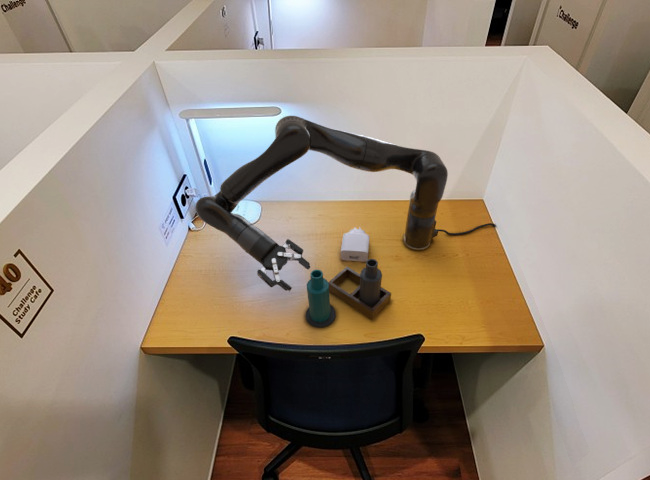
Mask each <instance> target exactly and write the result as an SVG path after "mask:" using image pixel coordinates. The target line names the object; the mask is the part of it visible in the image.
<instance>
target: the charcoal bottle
mask: <svg viewBox="0 0 650 480" xmlns="http://www.w3.org/2000/svg"><path fill="white" fill-rule="evenodd" d="M378 266H379V261H377V259H375V258H368V260H367V261H365V267H364V268H362V269H361V270H360V273H359V274H360V285H359V286H360V295H359V298H358V299H359V300H360V301H362V302H363V303H365V304H366V305H368V306H369V307H371V308H373V307H374V306H375V305H376V304H377V303H378V302H379V301H380V300H381V298H380V290H381V287H382V281H383V280H382V279H383V273H382V271H381V270H380V268H379V267H378Z"/></svg>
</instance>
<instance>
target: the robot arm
mask: <svg viewBox="0 0 650 480" xmlns="http://www.w3.org/2000/svg"><path fill="white" fill-rule="evenodd" d="M274 136H275V139H274V140H273V141H272V143H271V144H270V145H269V146H268V147H267V148H266V149H265V151H264V152H262V153H261V154H260V155H259V156H258V157H256V158H254V159H253V160H250V161H248V162H246V163H245V164H242V165H241V166H240V167H238V168H237V169H235V171H233V173H231V174H230V175H229V176H228V177H227V178H226V179H225V180H224V181H223V182H222V183H221V184H220V187H219V189H220V190H219V191H218V192H217V193H216V194H215V195H209V196H202V197H200V198H199V199H198V200H197V201H196V202H195V212H196V215H197V216H198V218H199V219H200V220H201V221H203V222H204V223H205V224H207V225H208V226H210V227H212V228H213V229H216V230H217V231H219V232H221V233H224V234H225V235H226V236H228V237H229V238H230V239H231V240H232V241H234V242H235V243H236V244H237V245H238V246H239V247H240V248H241V250H243V251H244V252H245V253H246V254H248V255H249V256H251V257H252V258H253V259H254V260H256V261H257V262H258V263H260V265H262V267H261V268H260V269H257V272H256V273H257V274H256V275H257V276H258V277H259V278H260V279H261V280H262V281H263V282H264V283H265V284H266V285H267V286H269V287H270V288H274V287H275V286H279V287H280V288H281V289H283V291H286V292H290V291H291V290H292V289H293V288H292V287H291V285H289V284H288V283H287V282H286V281H284V280H283V279H281V276H280V271H281V270H282V269H283V267H284V266H286V265H287V263H288V262H293V261H295V262H298V264H300V265H301V266H302V267H304V268H305V270H307V271H308V270H309V269H311V263H310V262H309V261H307V260H306V259H305V258H304V257H303V253H304V249H303V248H302V247H300V245H298V244H297V243H295V242H293V241H292V240H291V239H288V238H287V239H286V240H285V243H284V244H283V245H280V244H279V243H278V242H276V241H275V240H274V239H272V238H271V236H269V235H267V234H266V233H265V232H264V231H263V230H261V229H260V228H259V227H257V226H255V225H254V224H252V223H251V222H250V221H249V220H247V219H246V218H245V217H244V216H242V215H241V214H238V213H233V212H234V210H235V209H236V208H237V206H238V205H239V203H240V202H241V201H243V200H244V199H245V198H247V196H249V195H250V194H251V193H252V192H254V190H255V189H257V188H258V187H259V186H260V185H261V184H262V183H264V182H265V181H267V180H268V179H269V178H271V177H272V176H273V175H275V174H277V173H278V172H279V171H281V170H283V169H284V168H286V167H287V166H289V165H291V164H292V163H294V162H296V161H297V160H299V159H301V158H303V157H304V156H305V155H306V154H307V153H308V152H309V151H310V152H311V151H312V152H316V153H321V154H322V155H325V156H328V157H330V158H331V159H332V160H335V161H337V162H339V164H342V165H345V166H347V167H349V168H352V169H355V170H360V171H364V172H369V173H380V172H384V171H389V170H397V171H400V172H405V173H408V174H410V175H412V176H413V177H414V179H415V181H416V184H415V189H414V190H412V192H411V193H410V196H409V202H408V209H407V215H406V216H407V217H406V221H405V222H406V223H405V230H404V233H403V244H404V245H405V246H406V247H407V248H408V249H410V250H412V251H425V250H426V249H428V248H429V246H430V245H431V243H433V240H434V238H436V237H438V235H439V232H441V233H445V234H446V235H449V236H461V235H466V234H469V233H472V232H474V231H475V230H478V229H480V228H484V227H488V226H492V227H497V225H496V224H495V223H492V222H488V223H485V224H481V225H478V226H476V227H474V228H472V229H469V230H466V231H463V232H449V231H447V230H445V229H436V225H437V220H436V216H437V212H438V208H439V207H438V206H439V204H440V201H441V200H442V198H443V196H444V192H445V189H446V185H447V181H448V175H449V173H448V169H447V167H446V165H445V163H444V162H443V160H442V159H441V157H440V156H439V154H438V153H436V152H434V151H431V150H425V149H419V148H411V147H406V146H402V145H398V144H394V143H390V142H387V141H383V140H381V139H377V138H373V137H371V136H365V135H362V134H357V133H353V132H349V131H346V130H345V131H344V130H341V129H335V128H331V127H327V126H323V125H321V124H318V123H317V122H313V121H311V120H308V119H306V118H303V117H300V116H297V115H287V116H286V115H285V116H283V117H281V118H280V119H279V120H278V121H277V122H276V125H275V128H274ZM287 249H288V250H291V251H293V252H294V253H293V252H287ZM267 271H272V275H273V278H274V279H272V278H270V277H269V276H268V275H267Z"/></svg>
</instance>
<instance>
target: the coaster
mask: <svg viewBox="0 0 650 480" xmlns="http://www.w3.org/2000/svg"><path fill="white" fill-rule="evenodd" d="M336 316H337V312H336V309H335V307H334V306H333V305H332V304H330V317H329V318H328V319H327V320H326V321H324V322H316V321H314V320H313V319H312V318H311V316H310V310H309V307H308V308H306V311H305V320H306V322H307V324H309V325H310V326H312V327H313V328H317V329H323V328H327V327H329V326H331V325H332V324H333V323H334V322H335V320H336Z"/></svg>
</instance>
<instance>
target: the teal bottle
mask: <svg viewBox="0 0 650 480" xmlns="http://www.w3.org/2000/svg"><path fill="white" fill-rule="evenodd" d="M328 282H329V281H328V280H327V279H326V278H324V273H323V271H322V270H321V269H313V270H312V271H311V272H310V279H308V281H307V283H306V293H307V301H308V302H307V303H308V308H309V310H310V316H311V318H312V319H313V320H314V321H316V322H324V321H326V320H327V319H328V318H329V317H330V305H331V301H330V299H331V298H330V297H331V296H330V292H329V283H328Z"/></svg>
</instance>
